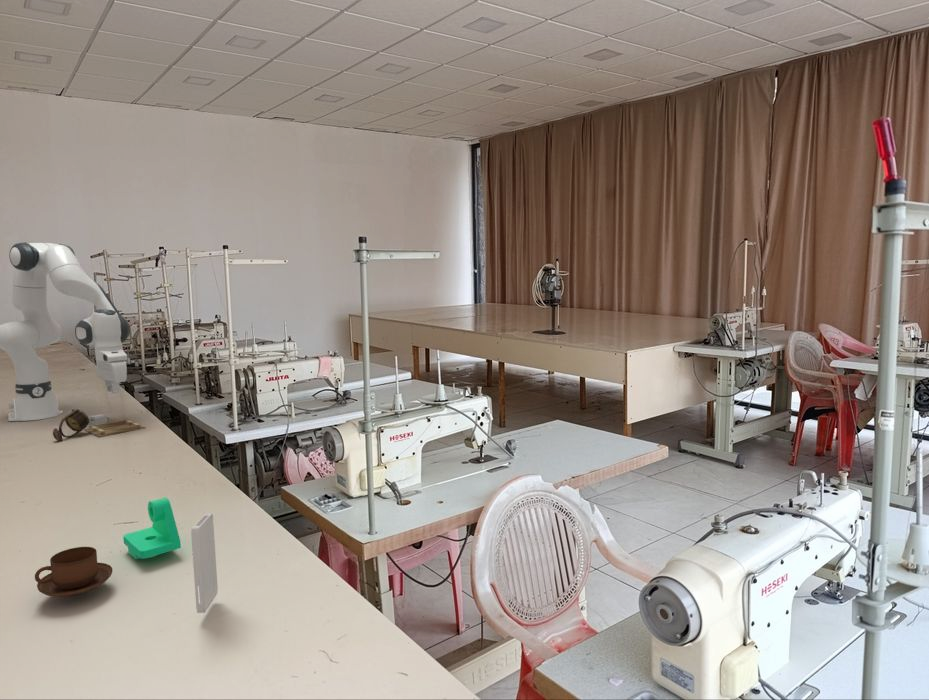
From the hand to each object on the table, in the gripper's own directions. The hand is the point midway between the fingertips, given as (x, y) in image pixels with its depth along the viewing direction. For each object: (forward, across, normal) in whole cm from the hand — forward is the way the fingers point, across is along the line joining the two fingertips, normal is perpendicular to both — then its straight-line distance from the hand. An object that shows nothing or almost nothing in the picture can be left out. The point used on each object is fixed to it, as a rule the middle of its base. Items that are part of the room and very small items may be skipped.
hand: (112, 392), depth 239 cm
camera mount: (+16, +117, -32) cm, 122 cm away
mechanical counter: (+15, -1, -14) cm, 20 cm away
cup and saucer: (+16, +123, -48) cm, 133 cm away
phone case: (+16, +148, -35) cm, 152 cm away
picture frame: (+14, 0, 0) cm, 15 cm away
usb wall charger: (+15, -16, 0) cm, 21 cm away
